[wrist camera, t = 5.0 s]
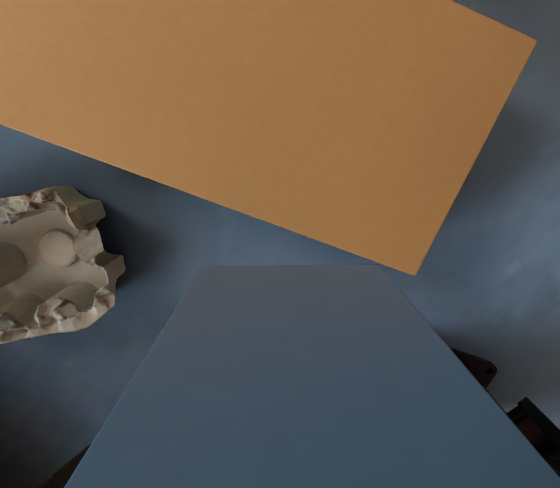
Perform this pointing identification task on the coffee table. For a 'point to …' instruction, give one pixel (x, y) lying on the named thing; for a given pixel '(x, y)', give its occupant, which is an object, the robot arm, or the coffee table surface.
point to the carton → (305, 394)
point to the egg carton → (53, 264)
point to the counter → (272, 104)
